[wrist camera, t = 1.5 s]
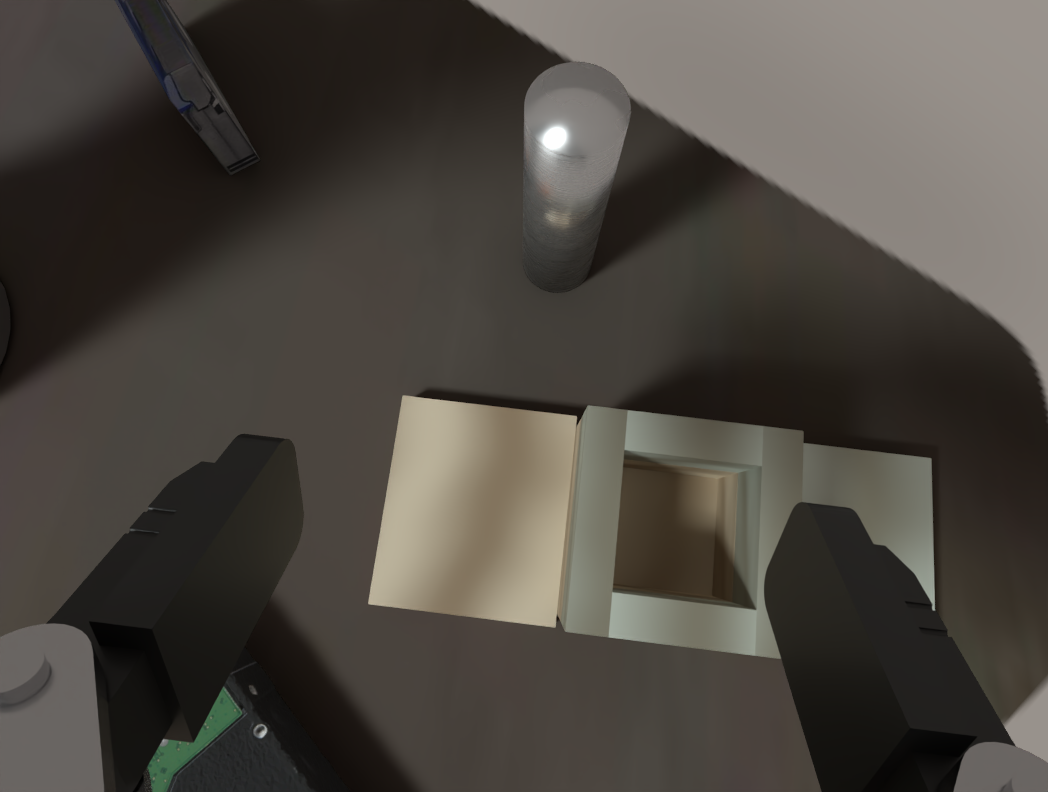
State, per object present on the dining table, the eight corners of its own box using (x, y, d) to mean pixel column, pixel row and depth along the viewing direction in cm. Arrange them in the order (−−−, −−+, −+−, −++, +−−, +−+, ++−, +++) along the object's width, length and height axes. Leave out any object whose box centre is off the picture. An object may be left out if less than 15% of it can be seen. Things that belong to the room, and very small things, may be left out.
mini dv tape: (157, 44, 30) (67, -77, 24) (186, 30, 30) (104, -94, 24) (231, 177, 28) (155, 82, 22) (261, 161, 28) (194, 64, 22)
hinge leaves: (374, 601, 24) (332, 620, 19) (407, 400, 26) (377, 365, 20) (919, 669, 24) (1036, 709, 18) (915, 461, 25) (1021, 441, 20)
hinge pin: (518, 288, 27) (518, 148, 17) (526, 225, 28) (530, 56, 18) (587, 296, 27) (626, 160, 17) (594, 233, 28) (634, 68, 18)
